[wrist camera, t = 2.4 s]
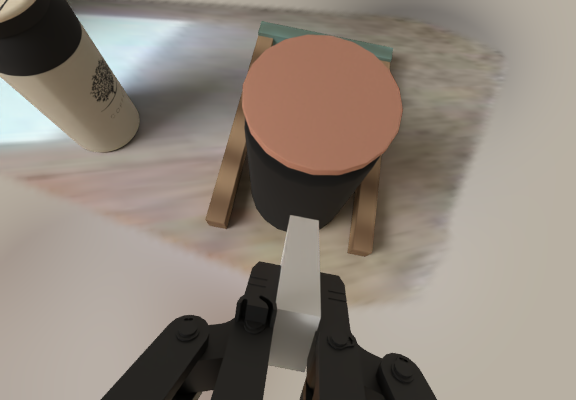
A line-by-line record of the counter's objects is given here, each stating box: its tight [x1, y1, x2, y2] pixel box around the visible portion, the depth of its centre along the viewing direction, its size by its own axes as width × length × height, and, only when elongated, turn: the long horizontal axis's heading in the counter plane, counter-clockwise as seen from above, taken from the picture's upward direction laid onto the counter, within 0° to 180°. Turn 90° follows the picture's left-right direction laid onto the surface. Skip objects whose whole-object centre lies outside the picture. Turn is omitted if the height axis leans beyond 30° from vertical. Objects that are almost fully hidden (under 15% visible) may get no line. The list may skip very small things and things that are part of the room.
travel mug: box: [0, 0, 140, 152], centre depth 30 cm, size 8×8×18 cm
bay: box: [205, 21, 393, 256], centre depth 38 cm, size 28×18×3 cm, turn 169°
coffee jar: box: [242, 35, 403, 232], centre depth 29 cm, size 11×11×18 cm
